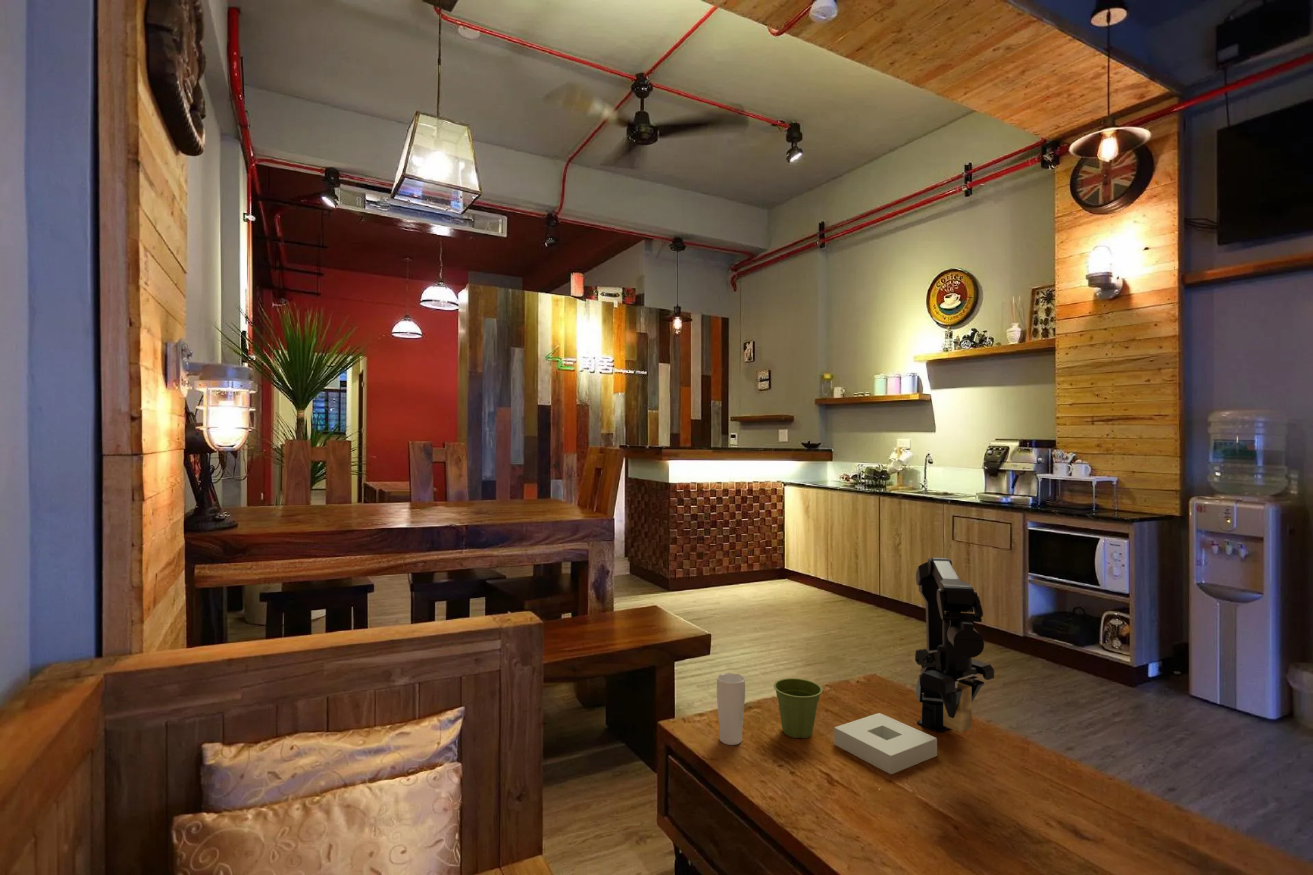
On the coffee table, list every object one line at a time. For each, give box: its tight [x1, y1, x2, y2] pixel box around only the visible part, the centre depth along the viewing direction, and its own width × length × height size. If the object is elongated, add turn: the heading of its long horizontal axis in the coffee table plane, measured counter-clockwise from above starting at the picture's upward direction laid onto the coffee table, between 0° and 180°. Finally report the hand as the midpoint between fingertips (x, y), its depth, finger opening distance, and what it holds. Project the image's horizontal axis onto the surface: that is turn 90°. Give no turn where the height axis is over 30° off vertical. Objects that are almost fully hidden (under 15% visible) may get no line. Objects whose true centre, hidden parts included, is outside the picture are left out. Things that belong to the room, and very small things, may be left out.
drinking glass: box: [716, 672, 746, 746], centre depth 150 cm, size 7×7×15 cm
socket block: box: [833, 712, 938, 775], centre depth 146 cm, size 16×16×4 cm
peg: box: [943, 682, 973, 733], centre depth 136 cm, size 4×4×9 cm
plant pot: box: [773, 677, 823, 739], centre depth 155 cm, size 12×12×11 cm
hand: (957, 715), depth 136 cm, fingers closed on peg, 4 cm apart
